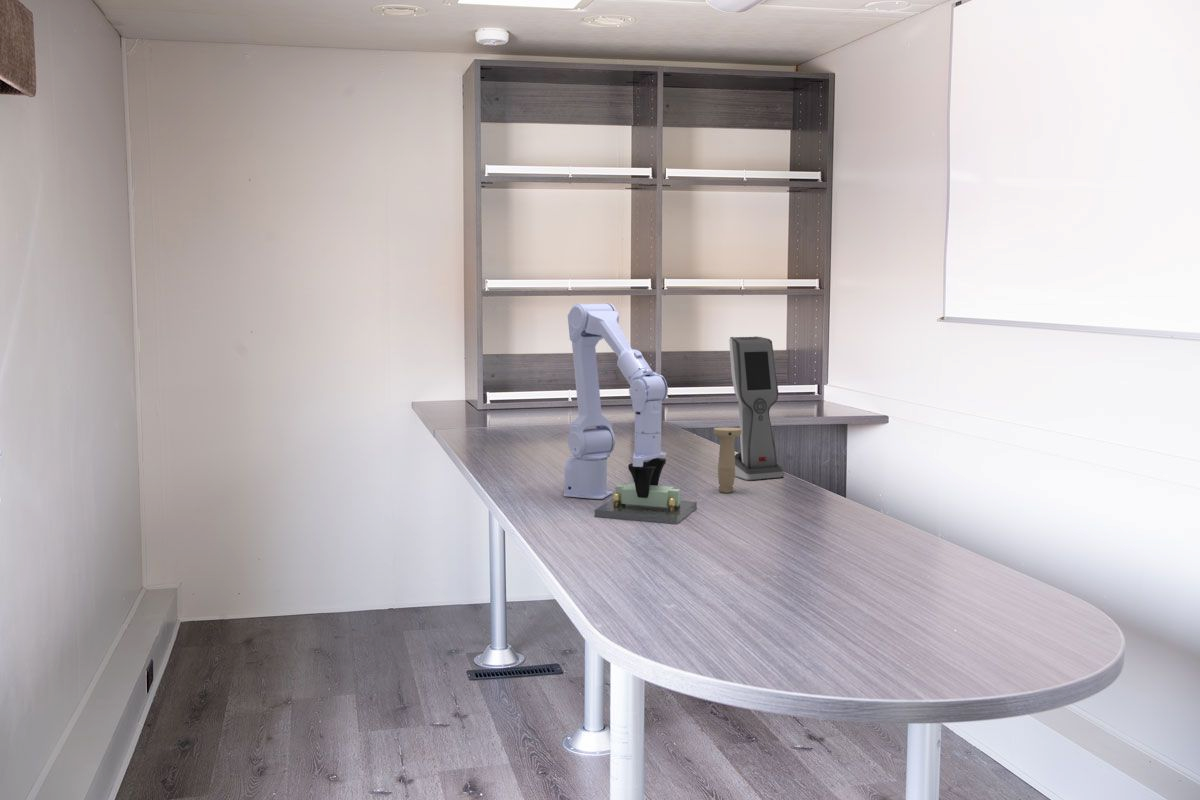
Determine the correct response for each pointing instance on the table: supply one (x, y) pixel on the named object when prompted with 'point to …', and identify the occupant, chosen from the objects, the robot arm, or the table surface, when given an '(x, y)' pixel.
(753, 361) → the thermal camera
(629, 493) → the pale green block
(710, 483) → the table surface
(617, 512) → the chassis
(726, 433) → the handle
